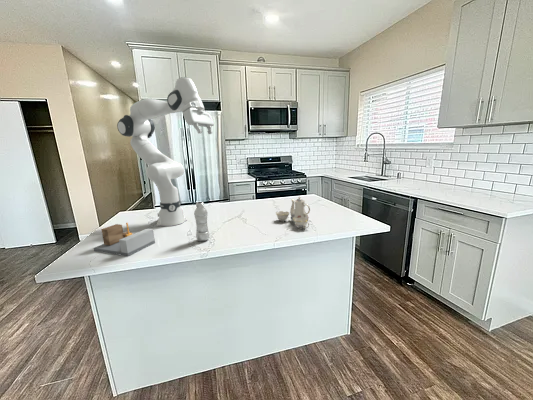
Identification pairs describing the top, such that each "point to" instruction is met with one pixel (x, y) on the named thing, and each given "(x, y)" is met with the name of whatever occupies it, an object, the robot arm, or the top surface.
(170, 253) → the top surface
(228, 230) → the top surface
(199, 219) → the plastic bottle
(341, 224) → the top surface
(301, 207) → the chinaware
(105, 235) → the brown wooden block
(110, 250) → the base
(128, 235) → the needle
